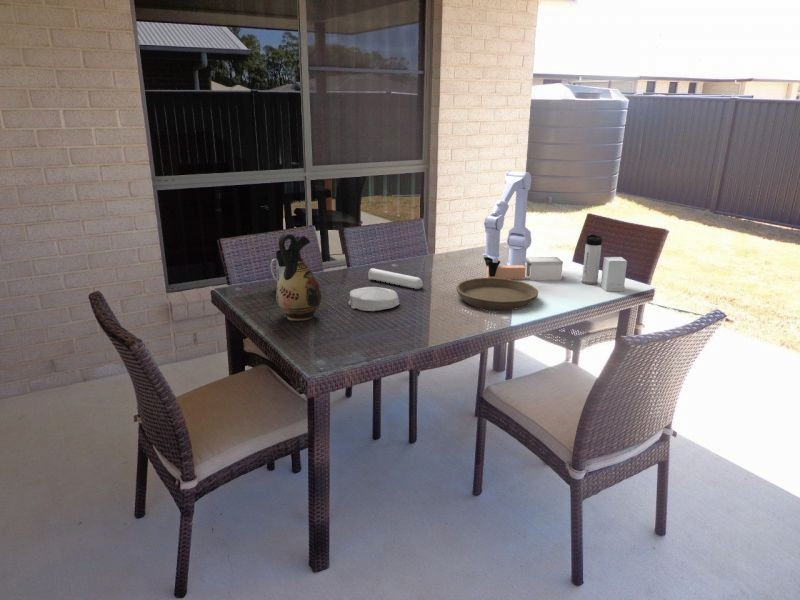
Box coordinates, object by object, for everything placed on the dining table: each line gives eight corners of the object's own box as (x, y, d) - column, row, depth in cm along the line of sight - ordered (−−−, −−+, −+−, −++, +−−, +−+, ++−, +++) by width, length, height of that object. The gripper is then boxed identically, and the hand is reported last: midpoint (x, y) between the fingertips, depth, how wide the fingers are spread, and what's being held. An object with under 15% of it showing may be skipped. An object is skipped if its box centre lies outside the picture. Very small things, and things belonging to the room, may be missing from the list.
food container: (341, 299, 233) (340, 282, 230) (390, 293, 239) (389, 276, 237) (356, 316, 215) (356, 298, 213) (408, 309, 222) (408, 291, 219)
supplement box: (624, 291, 243) (627, 261, 239) (605, 291, 243) (608, 260, 239) (618, 286, 250) (621, 256, 246) (600, 286, 250) (603, 256, 246)
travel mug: (595, 280, 258) (600, 234, 251) (598, 285, 251) (604, 237, 245) (580, 280, 258) (585, 234, 252) (583, 284, 252) (588, 237, 246)
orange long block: (486, 276, 262) (486, 265, 261) (522, 276, 263) (523, 265, 262) (488, 279, 259) (488, 268, 257) (524, 278, 260) (525, 267, 258)
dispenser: (522, 275, 266) (523, 257, 263) (555, 274, 267) (556, 257, 264) (527, 280, 258) (528, 262, 255) (561, 279, 259) (563, 261, 256)
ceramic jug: (301, 307, 222) (297, 226, 213) (331, 316, 213) (328, 232, 204) (264, 319, 210) (258, 233, 200) (294, 329, 200) (289, 240, 191)
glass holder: (302, 286, 247) (300, 250, 243) (282, 295, 235) (279, 258, 230) (284, 283, 251) (282, 248, 246) (263, 292, 238) (261, 255, 234)
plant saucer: (553, 300, 232) (554, 289, 231) (503, 318, 212) (504, 306, 211) (490, 283, 254) (490, 273, 252) (439, 298, 234) (439, 287, 232)
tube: (425, 278, 246) (376, 268, 259) (419, 277, 242) (369, 267, 255) (423, 291, 246) (374, 280, 260) (416, 290, 242) (367, 279, 255)
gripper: (480, 240, 263) (478, 270, 267) (486, 247, 249) (485, 279, 253) (496, 240, 263) (494, 270, 267) (503, 247, 249) (501, 279, 254)
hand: (491, 274), depth 260 cm, fingers closed on orange long block, 4 cm apart
